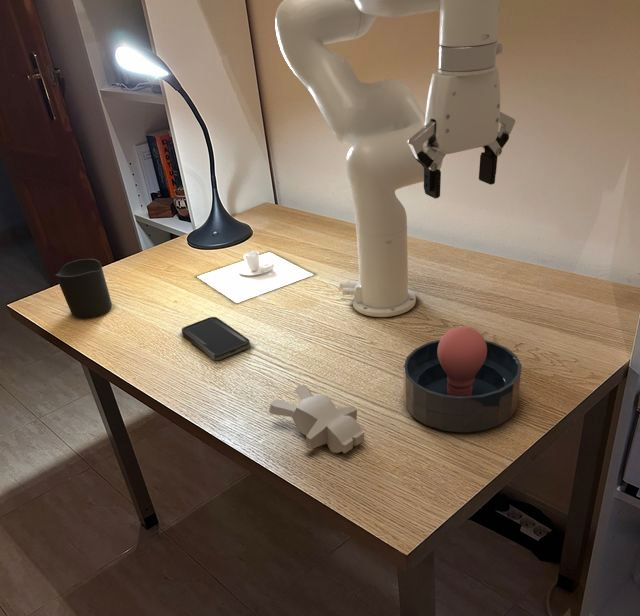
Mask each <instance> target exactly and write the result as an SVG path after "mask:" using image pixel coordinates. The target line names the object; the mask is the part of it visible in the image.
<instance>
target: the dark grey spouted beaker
mask: <svg viewBox="0 0 640 616" xmlns="http://www.w3.org/2000/svg"><path fill="white" fill-rule="evenodd" d="M55 278H56V281H57V283H58V285H59V287H60V290H61V292H62V294H63V297H64V299H65V302H66V305H67V307H68V308H69V311H70V313H71V315H72V317H74V318H75V319H78V320H90V319H94V318H95V319H96V318H99V317H101V316H104V315H105V314H107V313H109V312H110V311H111V309H112V307H113V304H112V299H111V296H110V292H109V287H108V284H107V281H106V277H105V274H104V270H103V266H102V263H101V261H100V260H98V259H95V258H82V259H76V260H72V261H69V262H67V263H65V264H64V265H63V266H62V267H61V268H60V269H59V271H58V273H56V274H55Z"/></svg>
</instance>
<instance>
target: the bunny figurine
mask: <svg viewBox="0 0 640 616" xmlns="http://www.w3.org/2000/svg"><path fill="white" fill-rule="evenodd" d="M294 390H295V391H294V392H295V394H296V395H297V396H298V398H299V399H300V402H299V404H298V405H296V404H294V403H291V402H288V401H285V400H282V399H274V400H272V401H271V402H270V403H269V408H268V412H269V414H271V415H276V416H282V417H289V418H292V420H293V423H294V424H295V427H296V428H297V430H298V431H299V433H301V434H302V435H304V436H305V438H306V439H305V441H306V442H305V443H306V448H307V449H310V450H312V449H316V448H318V447H320V446H324V445H327V447H328V449H329V451H330V452H332V453H335V454H339V453H341V452H342V453H343V454H347V453H348V452H350V451H351V450H353V449H354V448H353V447H356V446H358V445H360V444H361V443H363V442H364V441H365V432H364V431H363V430H362V429H361V427H360V425H359V424H358V422H357V419H358V417H357V416H358V409H357V408H356V407H355V406H354V405H353V406H346V407H345V406H344V407H336V406H335V404H334V402H333V400H331V399H330V398H329V397H328V396H327V395H325V394H322V393H317V394H314V395H313V393H312V391H311V390H310V388H309V386H307V385H306V384H300V385H298V386H296V387H295V389H294Z"/></svg>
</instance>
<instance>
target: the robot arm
mask: <svg viewBox="0 0 640 616" xmlns="http://www.w3.org/2000/svg"><path fill="white" fill-rule="evenodd" d="M434 12H439V22H438V23H439V24H438V25H439V27H438V29H439V30H438V31H439V32H438V37H439V38H438V59H437V71H436V72H432V74H431V79H430V83H429V88H428V93H427V99H426V106H425V107H426V108H425V111H424V110H423V108H422V107H421V105H420V103H419V102H418V100H417V99H416V97H415V95H414V94H413V92H412V91H411V90H410V88H409V87H408V86H407V85H406V84H405V83H403V82H402V81H399V80H396V79H384V80H378V81H372V82H363V81H361V80H360V79H359V77H358V76H357V74H356V73H355V72H354V69H353V67H352V66H351V64H350V63H349V62H348V61H347V60H346V59H345V58H344V57H343V56H342V55H340V54H339V53H337V52H336V51H334V50H332V49H330V48H329V47H328V46H325V45H328V44H335V43H341V42H346V41H351V40H352V41H353V40H357V39H359V38H362V37H363V36H365V34H367V33H368V31H370V29H371V27H372V26H373V24H374V22H375V21H376V19H377V18H378V17H383V18H392V19H393V18H403V17H408V16H413V15H414V16H415V15H419V14H426V13H434ZM500 12H501V0H282V1H281V2H280V3H279V4H278V7H277V9H276V12H275V22H274V23H275V33H276V38H277V42H278V45H279V48H280V51H281V54H282V56H283V58H284V60H285V61H286V63H287V65H288V66H289V69H290V70H291V71H292V72H293V74H294V75H295V76H296V78H298V80H299V81H300V82H301V83H302V84H303V85H304V87H305V88H306V89H307V90H308V92H309V94H310V95H311V97H312V98H313V100H314V102H315V104H316V106H317V108H318V109H319V111H320V113H321V114H322V116H323V119H324V120H325V122H326V123H327V125H328V127H329V128H330V130H331V132H332V134H333V136H334V137H335V138H336V139H337V141H339V142H340V143H341V144H342V145H345V146H351V147H350V148H349V150H348V152H347V155H346V158H345V160H346V162H345V166H346V173H347V178H348V182H349V186H350V190H351V195H352V200H353V207H354V218H355V220H354V221H355V229H356V230H355V232H356V233H355V234H356V250H357V262H358V263H357V265H358V266H357V267H358V280H357V279H356V280H355V281H348V280H341V281H340V282H339V290H340V291H341V292H342V296H353V299H352V306H353V308H354V310H356V311H357V312H358V313H359V314H362V315H365V316H368V317H374V318H388V317H395V316H399V315H403V314H404V313H407V312H409V311H411V309H413V308H414V307H415V305H416V303H417V296H416V293H415V292H414V291H413V290H412V289H409V265H408V263H409V261H408V259H409V258H408V215H407V211H406V209H405V207H404V205H403V203H402V202H401V201H400V200H399V198H398V196H397V195H396V191H397V190H399V189H402V188H405V187H409V186H412V185H416V184H420V183H423V190H424V194H425V195H427V196H429V197H431V198H432V199H434V200H436V199H439V198H440V197H441V182H442V171H441V168H442V165H443V162H444V161H443V160H444V158H445V156H446V155H452V154H456V153H461V152H465V151H469V150H473V149H478V148H482V149H483V151H482V152H480V156H479V169H478V180H479V181H480V182H483V183H485V184H487V185H490V186H491V185H495V183H496V175H497V168H498V157H499V156H501V154H502V153H503V148H504V147H505V145H506V144H507V142H508V141H509V139H510V134H511V133H512V130H513V128H514V126H515V125H516V119H515V118H514V117H512V116H509V115H508V114H505V113H504V112H502V111H501V82H500V72H499V71H500V70H499V66H496V61H497V55H501V54H502V52H503V45H502V43H499V42H498V37H499V23H500Z"/></svg>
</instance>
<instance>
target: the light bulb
mask: <svg viewBox="0 0 640 616" xmlns="http://www.w3.org/2000/svg"><path fill="white" fill-rule="evenodd" d="M440 339H441V340H440ZM440 339H439V340H440V342H439V344H438V349H437V355H438V359H439V362H440V364H441V366H442V368H443V369H444V371H445V373H446V374H447V376H448V377H447V381H448V383H447V392H448V395H454V396H471V395H472V389H473V385H472V384H473V383H474V379H475V378H474V377H475V375H476V374H477V372H478V371H479V370H480V368H481V366H482V365H483V363H484V361H485V359H486V356H487V345H486V342H485V340H486V339H485V338H484V336H483V335H482V334H481V333H480V332H479V331H478V330H476V329H474V328H472V327H468V326H456V327H454V328H451V329H449V330H447V331H446V332H445V333H444V335H442V336H441V338H440Z"/></svg>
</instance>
